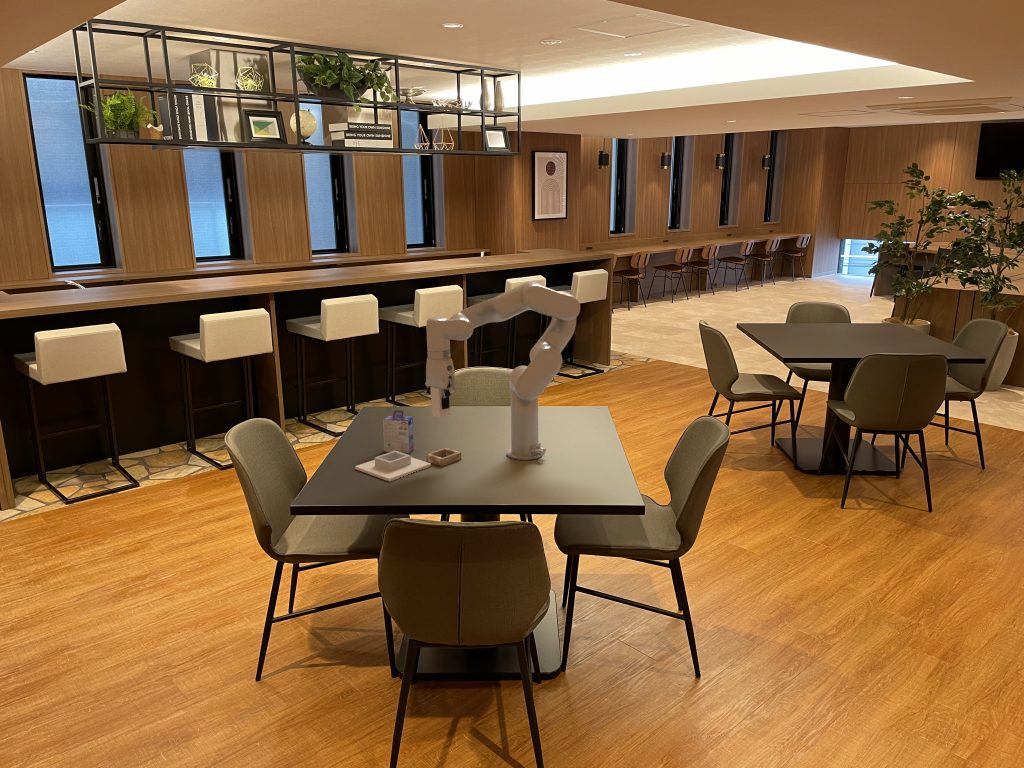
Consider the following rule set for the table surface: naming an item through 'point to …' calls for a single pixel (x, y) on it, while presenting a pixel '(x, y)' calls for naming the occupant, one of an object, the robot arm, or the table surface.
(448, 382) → the robot arm
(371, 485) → the table surface
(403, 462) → the port board
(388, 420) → the ink cartridge box
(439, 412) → the plug
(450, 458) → the brown rectangular frame
